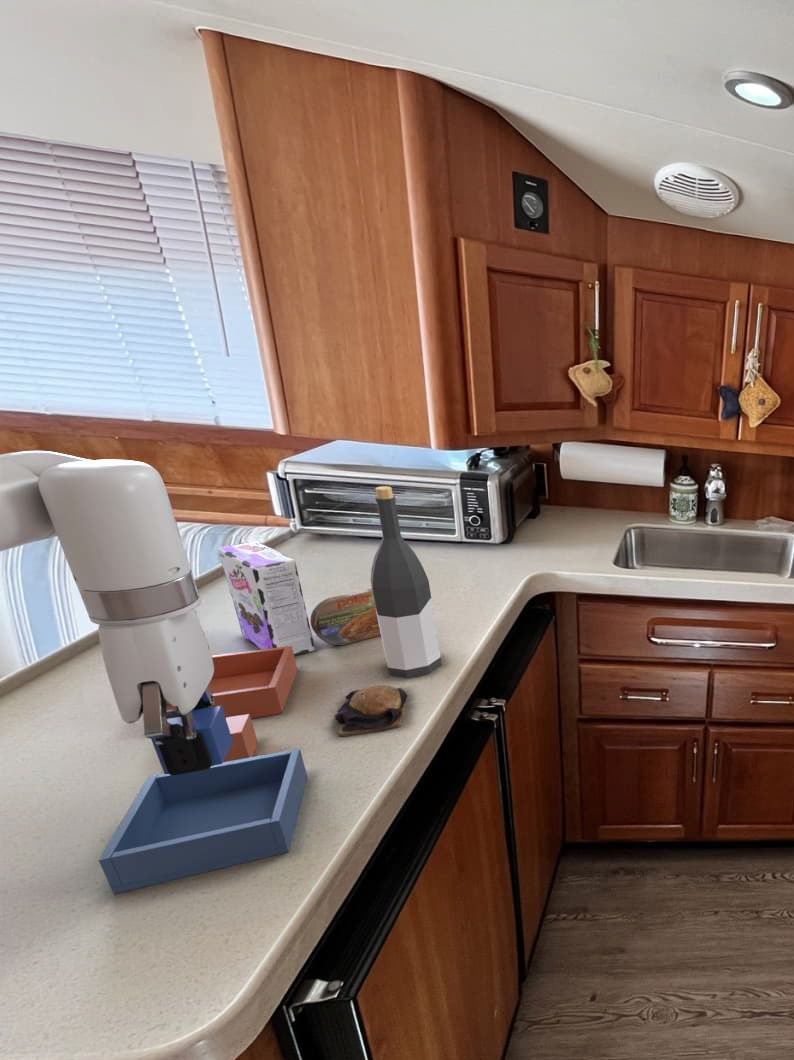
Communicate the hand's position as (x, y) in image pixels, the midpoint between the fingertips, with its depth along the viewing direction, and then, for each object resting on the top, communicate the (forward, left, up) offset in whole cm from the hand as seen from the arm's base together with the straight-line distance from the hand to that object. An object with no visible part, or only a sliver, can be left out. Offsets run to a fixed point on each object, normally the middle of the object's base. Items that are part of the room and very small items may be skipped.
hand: (198, 754), depth 66 cm
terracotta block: (-2, +15, -10) cm, 18 cm away
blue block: (0, 0, 0) cm, 0 cm away
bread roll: (+13, +20, -10) cm, 26 cm away
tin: (+10, +48, -10) cm, 50 cm away
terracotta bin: (-5, +31, -10) cm, 33 cm away
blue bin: (0, 0, -10) cm, 10 cm away
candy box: (-2, +49, -10) cm, 50 cm away
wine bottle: (+18, +33, -10) cm, 39 cm away
